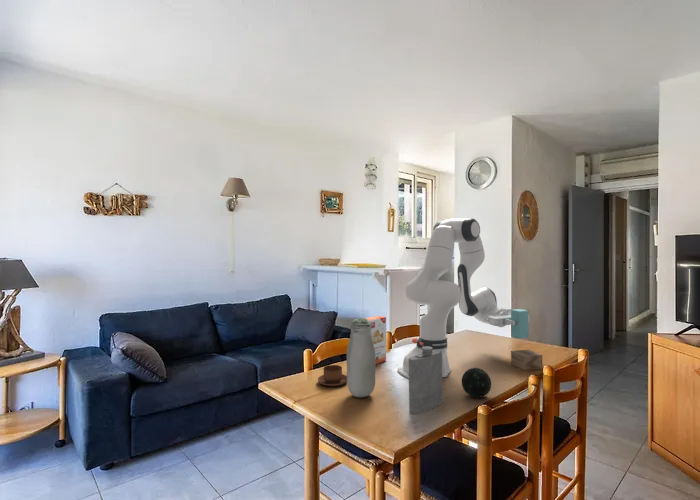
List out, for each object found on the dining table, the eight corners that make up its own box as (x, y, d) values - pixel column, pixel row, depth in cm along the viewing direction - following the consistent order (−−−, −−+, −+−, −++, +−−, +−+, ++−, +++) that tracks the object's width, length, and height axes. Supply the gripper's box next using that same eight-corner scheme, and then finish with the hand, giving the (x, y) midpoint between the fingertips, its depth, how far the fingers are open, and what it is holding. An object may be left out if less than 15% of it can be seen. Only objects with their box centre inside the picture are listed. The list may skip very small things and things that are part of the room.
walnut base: (523, 370, 166) (523, 356, 166) (511, 364, 175) (511, 350, 175) (542, 368, 168) (542, 354, 168) (529, 362, 177) (528, 349, 177)
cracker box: (367, 367, 172) (366, 320, 172) (357, 365, 177) (356, 319, 176) (387, 360, 182) (386, 316, 182) (377, 358, 187) (376, 315, 186)
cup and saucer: (311, 383, 155) (311, 367, 155) (335, 376, 163) (335, 361, 163) (330, 391, 146) (329, 374, 146) (354, 383, 153) (354, 368, 153)
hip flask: (436, 398, 137) (435, 341, 136) (446, 402, 134) (445, 343, 133) (407, 412, 126) (406, 350, 126) (417, 415, 123) (416, 352, 123)
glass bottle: (359, 403, 133) (358, 322, 133) (342, 394, 141) (341, 318, 141) (381, 396, 139) (380, 318, 139) (363, 388, 147) (362, 314, 147)
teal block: (519, 338, 170) (519, 311, 170) (511, 336, 175) (511, 309, 175) (528, 337, 172) (528, 310, 172) (520, 335, 177) (519, 308, 177)
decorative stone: (467, 389, 145) (466, 362, 145) (494, 395, 139) (494, 367, 139) (457, 398, 137) (457, 369, 137) (486, 404, 131) (486, 374, 131)
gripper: (481, 312, 182) (502, 317, 169) (516, 309, 189) (538, 313, 176) (481, 325, 182) (502, 331, 169) (516, 322, 189) (538, 327, 176)
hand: (521, 322), depth 173 cm, fingers closed on teal block, 5 cm apart
